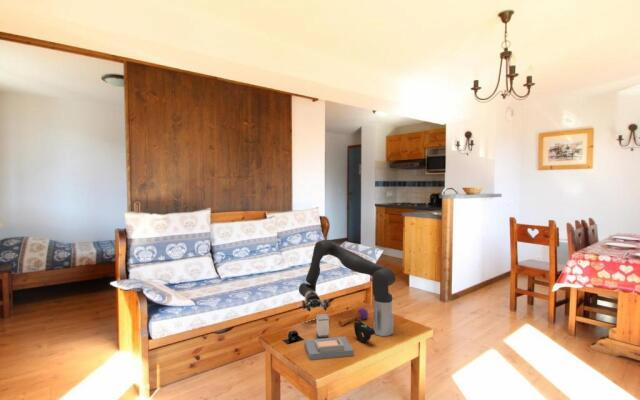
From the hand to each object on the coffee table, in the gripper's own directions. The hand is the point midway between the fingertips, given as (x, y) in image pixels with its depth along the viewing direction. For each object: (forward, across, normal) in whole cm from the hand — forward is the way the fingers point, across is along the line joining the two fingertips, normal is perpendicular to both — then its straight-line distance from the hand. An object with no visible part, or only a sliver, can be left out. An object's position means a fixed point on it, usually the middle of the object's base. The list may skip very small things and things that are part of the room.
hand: (317, 309), depth 179 cm
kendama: (-5, +22, +11) cm, 25 cm away
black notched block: (+11, -14, +11) cm, 21 cm away
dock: (+25, 0, +10) cm, 27 cm away
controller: (+20, +19, +10) cm, 29 cm away
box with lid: (+12, 0, +10) cm, 15 cm away
